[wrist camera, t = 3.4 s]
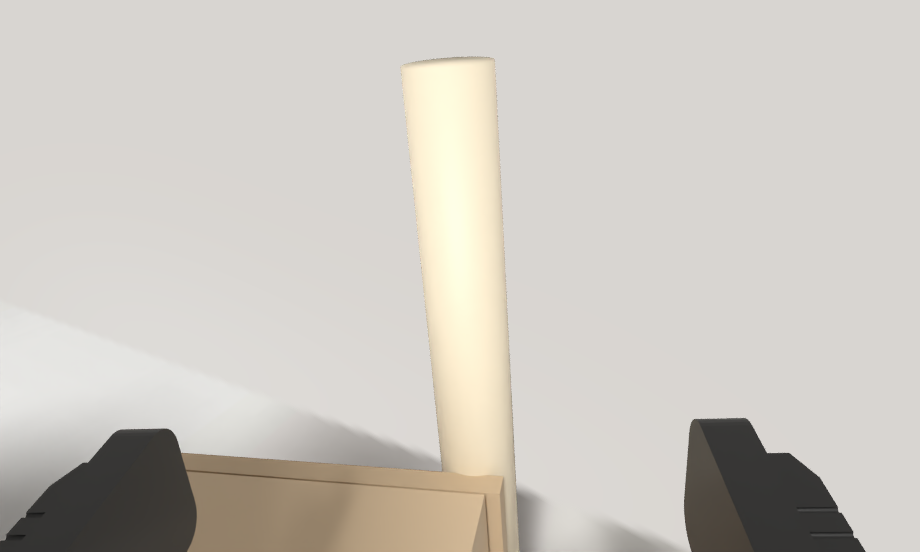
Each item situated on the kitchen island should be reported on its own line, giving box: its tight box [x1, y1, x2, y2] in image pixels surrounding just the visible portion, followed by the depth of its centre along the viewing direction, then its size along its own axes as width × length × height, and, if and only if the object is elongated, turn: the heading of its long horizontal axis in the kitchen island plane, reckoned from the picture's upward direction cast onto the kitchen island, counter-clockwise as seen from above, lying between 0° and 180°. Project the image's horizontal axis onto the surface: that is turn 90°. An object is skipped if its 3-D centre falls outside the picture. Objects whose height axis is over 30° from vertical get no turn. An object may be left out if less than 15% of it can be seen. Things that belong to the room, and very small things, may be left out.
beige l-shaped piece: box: [181, 57, 519, 552], centre depth 23 cm, size 12×3×24 cm, turn 79°
